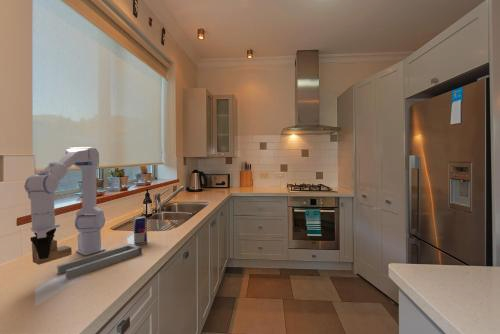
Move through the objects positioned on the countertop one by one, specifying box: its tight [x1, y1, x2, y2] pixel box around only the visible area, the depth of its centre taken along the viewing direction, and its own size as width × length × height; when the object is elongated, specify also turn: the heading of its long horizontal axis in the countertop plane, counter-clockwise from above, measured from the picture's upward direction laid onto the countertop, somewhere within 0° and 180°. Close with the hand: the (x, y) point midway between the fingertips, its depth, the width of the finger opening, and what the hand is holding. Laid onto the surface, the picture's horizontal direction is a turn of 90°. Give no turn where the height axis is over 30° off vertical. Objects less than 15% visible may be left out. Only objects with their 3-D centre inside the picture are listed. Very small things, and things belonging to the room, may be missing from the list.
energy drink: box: [132, 215, 148, 246], centre depth 116 cm, size 5×5×12 cm
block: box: [31, 239, 72, 266], centre depth 82 cm, size 4×9×6 cm, turn 149°
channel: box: [56, 243, 143, 280], centre depth 95 cm, size 9×26×2 cm, turn 145°
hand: (45, 255), depth 81 cm, fingers closed on block, 6 cm apart
